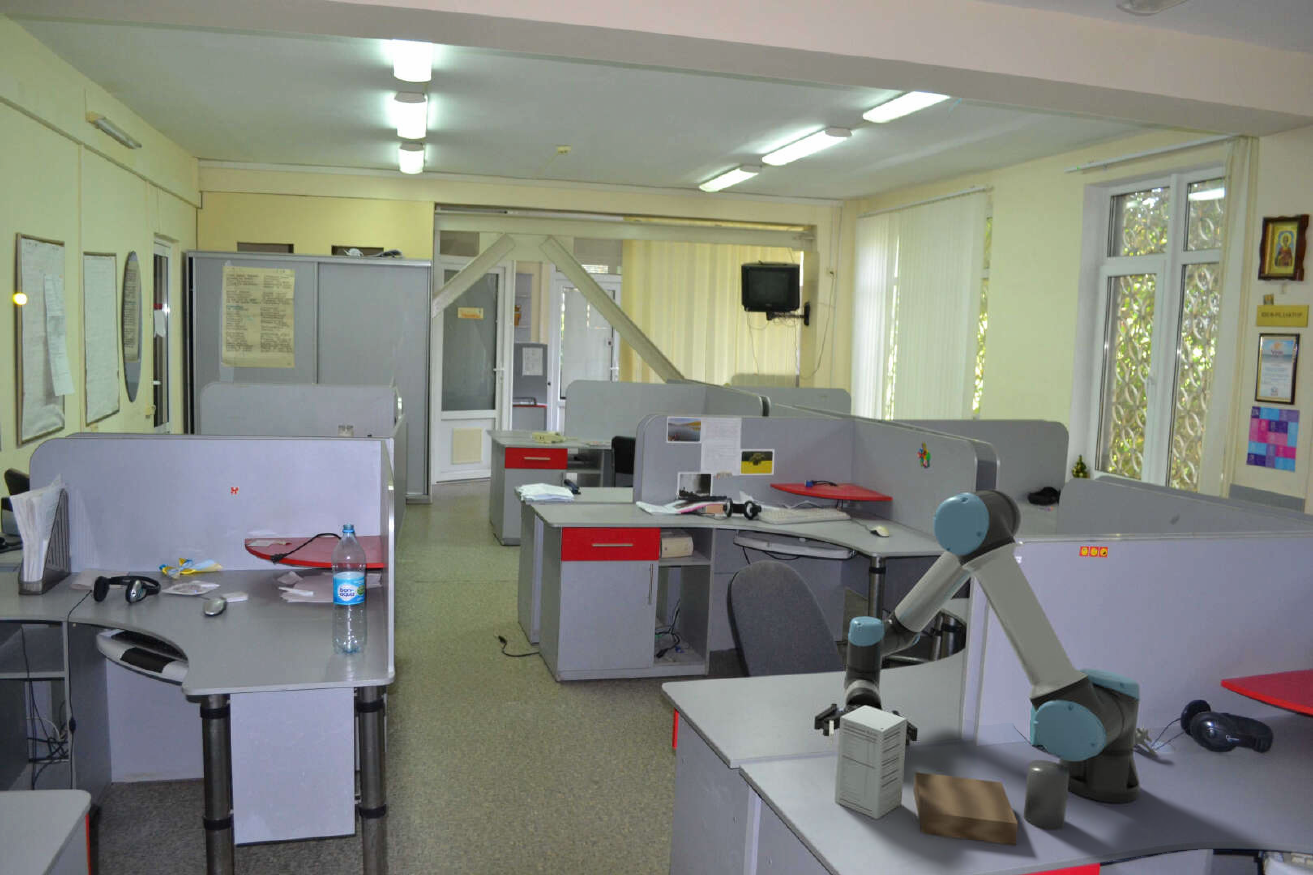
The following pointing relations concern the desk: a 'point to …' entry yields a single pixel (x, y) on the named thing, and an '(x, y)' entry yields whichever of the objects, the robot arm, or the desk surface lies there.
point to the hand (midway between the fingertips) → (866, 744)
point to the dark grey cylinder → (1046, 794)
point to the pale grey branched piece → (1140, 738)
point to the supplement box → (870, 761)
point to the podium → (964, 808)
